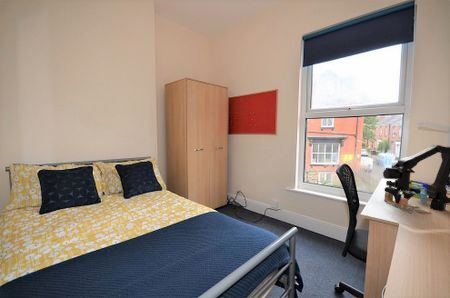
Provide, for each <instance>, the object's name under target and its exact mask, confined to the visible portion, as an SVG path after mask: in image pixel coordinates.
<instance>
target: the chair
mask: <svg viewBox="0 0 450 298" xmlns="http://www.w3.org/2000/svg"><path fill="white" fill-rule="evenodd" d="M412 187H415V188H418V189H420V191H421V190H422V189H425V190H426V188H424V187H421V186H419V185H412ZM413 193H414V194H416V193H415V192H413ZM416 195H418V196H419V198H420V201H421V202H423V203H427V197H428V195H427V193H426V191H425V193H424V192H422V191H421V192H420V194H416ZM421 196H423V198H422V197H421Z"/></svg>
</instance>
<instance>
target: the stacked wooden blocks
mask: <svg viewBox="0 0 450 298" xmlns="http://www.w3.org/2000/svg"><path fill="white" fill-rule="evenodd" d="M383 200H384V202H385V203H388V204H390V205H392V204H394V202H395V200H394V196H393V194H391V193H388V192H385V191H384V198H383ZM394 205H396V204H394ZM396 206H399V205H396ZM409 206H410V205H401V206H399V207H401V208H403V209H406V210H410V209H409Z"/></svg>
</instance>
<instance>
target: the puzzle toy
mask: <svg viewBox="0 0 450 298" xmlns="http://www.w3.org/2000/svg"><path fill="white" fill-rule="evenodd" d="M410 182H411V184H409V187H412V185H419V186H421V187H424V188H426V189H427V186H428V184H429V183H426V182H422V181H421V182H420V181H416V180H411V179H410ZM421 191H422V192H424V193H425V191H426V190H425V189H422V190H421ZM401 193H402V196H404V194H403V192H401ZM413 194H414V193H413ZM421 197H422V199H423V196H421ZM411 198H416V199H418V200H419V199H420V198H419V196H418V195H416V194H415V195H413V196H412V197H411Z"/></svg>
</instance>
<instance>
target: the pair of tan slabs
mask: <svg viewBox="0 0 450 298" xmlns="http://www.w3.org/2000/svg"><path fill="white" fill-rule="evenodd" d="M408 205H410V206H409V207H411V208H413V209H416V210H418V211H420V212H422V213H421V214H431V213H430V211H431V210H428V209H426V208H423V207H421V208H416V206H417V205H416V206H415V204H413V205H412V203H408ZM425 209H426V210H425Z"/></svg>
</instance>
